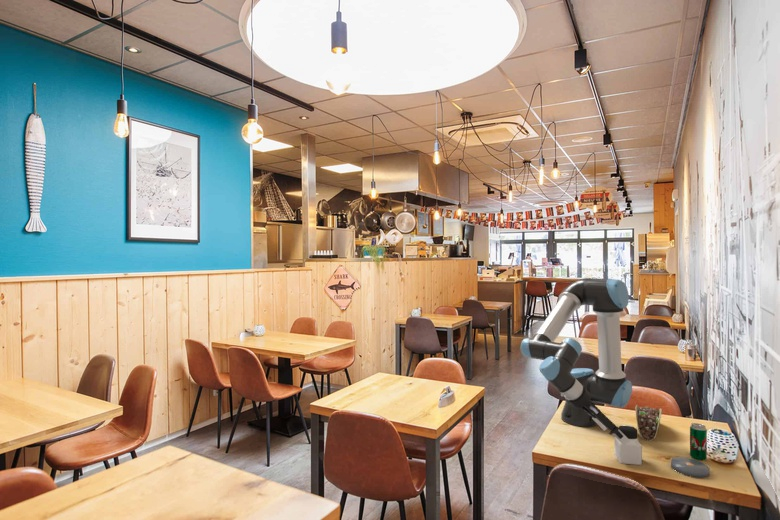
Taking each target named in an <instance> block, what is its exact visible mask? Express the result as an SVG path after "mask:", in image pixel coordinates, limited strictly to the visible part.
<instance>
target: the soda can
mask: <svg viewBox="0 0 780 520" xmlns="http://www.w3.org/2000/svg"><path fill="white" fill-rule="evenodd" d="M707 430H708V429H707V428H706V425H704V424H702V423H697V422H692V423H691V424H690V426H689V457H691V459H694V460H697V461H706V460H707V459H708V450H707V449H708V447H707V445H708V431H707Z"/></svg>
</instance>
